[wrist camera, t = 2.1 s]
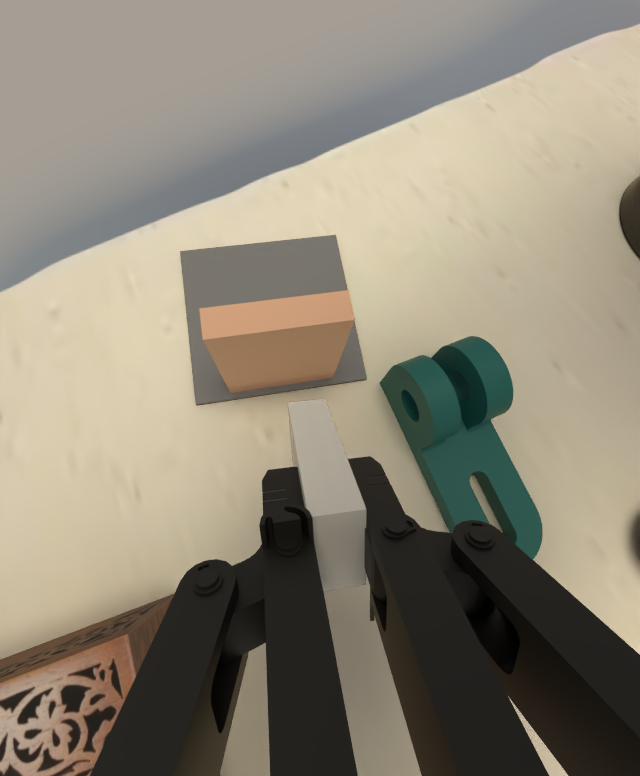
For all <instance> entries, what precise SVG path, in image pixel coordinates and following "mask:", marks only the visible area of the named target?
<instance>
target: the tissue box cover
mask: <svg viewBox="0 0 640 776" xmlns="http://www.w3.org/2000/svg"><path fill="white" fill-rule="evenodd" d="M173 596H174V594H173V595H170V596H168V597H165V598H162V599H160V600H157V601H154V602H152V603H149V604H147V605H144V606H141V607H139V608H136V609H133V610H131V611H128V612H125V613H123V614H120V615H118V616H115V617H112V618H110V619H107V620H104V621H102V622H99V623H96V624H94V625H91V626H89V627H86V628H83V629H81V630H78V631H75V632H73V633H70V634H67V635H65V636H62V637H60V638H57V639H54V640H52V641H49V642H46V643H44V644H41V645H38V646H36V647H33V648H30V649H28V650H25V651H23V652H20V653H17V654H15V655H12V656H9V657H7V658H4V659H1V660H0V776H90V774H91V772H92V769H93V767H94V765H95V763H96V761H97V759H98V757H99V754H100V752H101V750H102V748H103V746H104V744H105V742H106V739H107V737H108V735H109V733H110V731H111V729H112V727H113V724H114V722H115V720H116V718H117V716H118V714H119V712H120V710H121V707H122V705H123V703H124V701H125V699H126V697H127V695H128V692H129V690H130V688H131V686H132V684H133V682H134V680H135V677H136V675H137V673H138V671H139V669H140V667H141V665H142V662H143V660H144V658H145V656H146V654H147V652H148V650H149V647H150V645H151V643H152V641H153V639H154V637H155V635H156V633H157V630H158V628H159V626H160V624H161V622H162V620H163V618H164V615H165V613H166V611H167V609H168V607H169V605H170V603H171V600H172V598H173ZM219 776H220V774H219Z"/></svg>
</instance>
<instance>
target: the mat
mask: <svg viewBox="0 0 640 776" xmlns="http://www.w3.org/2000/svg"><path fill="white" fill-rule="evenodd" d="M180 254H181V264H182V274H183V283H184V293H185V303H186V313H187V323H188V333H189V342H190V352H191V362H192V372H193V382H194V391H195V401H196V405H203V404H209V403H216V402H223V401H229V400H236V399H242V398H249V397H256V396H262V395H269V394H276V393H282V392H289V391H295V390H302V389H309V388H315V387H322V386H328V385H335V384H342V383H348V382H355V381H361V380H366V379H367V377H366V373H365V368H364V363H363V359H362V354H361V350H360V345H359V340H358V336H357V331H356V327H355V322H354V323H353V326H352V328H351V331H350V334H349V336H348V339H347V342H346V344H345V347H344V350H343V352H342V355H341V358H340V361H339V363H338V366H337V369H336V371H335V374H334V377H333V378H330V379H324V380H317V381H310V382H304V383H297V384H290V385H284V386H277V387H270V388H263V389H257V390H250V391H243V392H237V393H230V391H229V389H228V387H227V385H226V383H225V381H224V380H223V378H222V376H221V374H220V372H219V370H218V368H217V366H216V364H215V362H214V360H213V358H212V357H211V355H210V353H209V351H208V349H207V347H206V345H205V343H204V341H203V338H202V329H201V320H200V311H199V308H207V307H215V306H223V305H232V304H240V303H248V302H256V301H264V300H272V299H280V298H289V297H297V296H305V295H313V294H321V293H329V292H337V291H346V290H347V285H346V280H345V276H344V271H343V267H342V262H341V257H340V253H339V248H338V244H337V239H336V235H331V236H321V237H312V238H302V239H293V240H283V241H273V242H264V243H254V244H245V245H235V246H226V247H216V248H207V249H197V250H188V251H180Z"/></svg>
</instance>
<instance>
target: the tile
mask: <svg viewBox="0 0 640 776" xmlns="http://www.w3.org/2000/svg"><path fill="white" fill-rule="evenodd" d="M199 311H200V320H201V329H202V338H203V341H204V343H205V345H206V347H207V349H208V351H209V353H210V355H211V357H212V358H213V360H214V362H215V364H216V366H217V368H218V370H219V372H220V374H221V376H222V378H223V380H224V381H225V383H226V385H227V387H228V389H229V391H230V393H237V392H243V391H250V390H257V389H263V388H270V387H277V386H284V385H290V384H297V383H304V382H310V381H317V380H324V379H330V378H333V377H334V374H335V371H336V369H337V366H338V363H339V361H340V358H341V355H342V352H343V350H344V347H345V344H346V342H347V339H348V336H349V334H350V331H351V328H352V326H353V323H354V320H355V319H354V314H353V310H352V305H351V300H350V296H349V291H348V290H346V291H337V292H329V293H321V294H313V295H305V296H297V297H289V298H280V299H272V300H264V301H256V302H248V303H240V304H232V305H223V306H215V307H207V308H199Z"/></svg>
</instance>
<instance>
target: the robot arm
mask: <svg viewBox="0 0 640 776" xmlns="http://www.w3.org/2000/svg"><path fill="white" fill-rule="evenodd" d="M620 214H621V222H622V226H623V229H624V232H625V234H626V237H627V239H628V241H629V242H630V244H631V246H632V247H633V249H634V250H635V251H636V253H637V254H638V255H639V256H640V176H639V177H638V178H637V179H636V180H634V181H633V182H632V183H631V184H630V185H629V187H628V188H627V189H626V191H625V193H624V195H623V198H622V202H621V209H620ZM288 411H289V423H290V434H291V446H292V458H293V465H294V467H289V468H281V469H273V470H268V471H267V473H266V474H265V476H264V478H263V480H262V491H263V516H262V517H261V521H260V532H261V540H262V545H261V547H260V548H259V550H258V551H257V552H256V553H255V554H254V555H253V556H251V557H250V558H248V559H246V560H245V561H243V562H241V563H238V564H236V565H234V566H231V565H230V564H229V563H227V562H226V561H222V560H217V559H215V560H207V561H204V562H202V563H199V564H197V565H195V566H194V567H192V568H191V569H190V570H189V571H187V572H186V574H185V575H184V577H183V578H182V580H181V581H180V583H179V585H178V588H177V590H176V592H175V594H174V596H173V598H172V600H171V603H170V605H169V607H168V609H167V611H166V613H165V615H164V618H163V620H162V622H161V624H160V626H159V628H158V630H157V633H156V635H155V637H154V639H153V641H152V643H151V645H150V647H149V650H148V652H147V654H146V656H145V658H144V660H143V662H142V665H141V667H140V669H139V671H138V673H137V675H136V677H135V680H134V682H133V684H132V686H131V688H130V690H129V692H128V695H127V697H126V699H125V701H124V703H123V705H122V707H121V710H120V712H119V714H118V716H117V718H116V720H115V722H114V724H113V727H112V729H111V731H110V733H109V735H108V737H107V739H106V742H105V744H104V746H103V748H102V750H101V752H100V754H99V757H98V759H97V761H96V763H95V765H94V767H93V769H92V772H91V774H90V776H219V773H220V769H221V765H222V761H223V756H224V752H225V748H226V744H227V740H228V736H229V732H230V728H231V723H232V719H233V715H234V711H235V707H236V703H237V699H238V695H239V691H240V686H241V682H242V678H243V674H244V670H245V666H246V662H247V658H248V652H249V651H251V650H252V649H254V648H256V647H258V646H260V645H262V644H264V643H266V658H267V688H268V718H269V748H270V776H358V775H357V769H356V764H355V759H354V753H353V748H352V743H351V737H350V732H349V727H348V721H347V716H346V711H345V705H344V700H343V694H342V689H341V684H340V678H339V673H338V668H337V662H336V657H335V652H334V646H333V641H332V635H331V630H330V625H329V619H328V614H327V609H326V603H325V598H324V593H323V591H328V590H334V589H340V588H347V587H353V586H359V585H365V584H366V574H367V577H368V581H369V584H370V621H373V620H374V615H375V618H376V622H377V625H378V628H379V632H380V635H381V639H382V642H383V645H384V649H385V652H386V656H387V659H388V662H389V666H390V669H391V673H392V676H393V679H394V683H395V686H396V690H397V693H398V696H399V700H400V703H401V706H402V710H403V713H404V717H405V720H406V723H407V727H408V730H409V734H410V737H411V740H412V744H413V747H414V751H415V754H416V757H417V761H418V764H419V768H420V771H421V774H422V776H549V775H548V773H547V771H546V769H545V767H544V765H543V763H542V761H541V759H540V757H539V755H538V753H537V752H536V750H535V748H534V746H533V744H532V742H531V740H530V738H529V736H528V734H527V732H526V730H525V728H524V726H523V725H522V723H521V721H520V719H519V717H518V715H517V713H516V711H515V709H514V707H513V705H512V703H511V701H510V699H511V700H512V702H513V703H514V704H515V706H516V707H517V708H518V709H519V711H520V712H521V713H522V715H523V716H524V717H525V719H526V720H527V721H528V723H529V724H530V725H531V727H532V728H533V729H534V731H535V732H536V733H537V735H538V736H539V737H540V738H541V740H542V741H543V742H544V744H545V745H546V746H547V748H548V749H549V750H550V752H551V753H552V754H553V756H554V757H555V758H556V760H557V761H558V762H559V763H560V765H561V766H562V767H563V769H564V770H565V771H566V773H567V774H568V775H569V776H640V655H639V654H638V653H637V652H636V651H635V650H634V649H633V648H631V647H630V646H629V645H628V644H627V643H626V642H625V641H624V640H622V639H621V638H620V637H619V636H618V635H617V634H616V633H614V632H613V631H612V630H611V629H610V628H609V627H608V626H607V625H605V624H604V623H603V622H602V621H601V620H600V619H599V618H598V617H596V616H595V615H594V614H593V613H592V612H591V611H590V610H589V609H587V608H586V607H585V606H584V605H583V604H582V603H581V602H580V601H578V600H577V599H576V598H575V597H574V596H573V595H572V594H571V593H569V592H568V591H567V590H566V589H565V588H564V587H563V586H562V585H560V584H559V583H558V582H557V581H556V580H555V579H554V578H553V577H551V576H550V575H549V574H548V573H547V572H546V571H545V570H544V569H542V568H541V567H540V566H539V565H538V564H537V563H536V562H535V561H533V560H532V559H531V558H530V557H529V556H528V555H527V554H526V553H524V552H523V551H522V550H521V549H520V548H519V547H518V546H517V545H515V544H514V543H513V542H512V541H511V540H510V539H509V538H508V537H506V536H505V535H504V534H503V533H502V532H501V531H500V530H498V529H497V528H495V527H494V526H492V525H490V524H488V523H485V522H482V521H476V520H468V521H463V522H461V523H459V524H457V525H456V526H455V528H454V530H453V532H452V533H445V532H436V531H431V530H426V529H424V528H421V527H420V526H419V525H418V523H417V522H416V521H415V520H414V519H412V518H411V517H409V516H407V515H406V514H405V513H404V511H403V509H402V507H401V505H400V503H399V501H398V499H397V497H396V495H395V492H394V490H393V488H392V486H391V484H390V483H389V480H388V478H387V476H386V475H385V472H384V470H383V468H382V466H381V464H380V463H378V462H377V461H376V460H374V459H373V458H372V457H371V456H369V457H361V458H353V459H347V456H346V454H345V451H344V448H343V446H342V443H341V440H340V438H339V435H338V432H337V430H336V427H335V424H334V422H333V419H332V416H331V414H330V411H329V408H328V406H327V403H326V400H325V399H316V400H307V401H297V402H288ZM507 695H508V696H509V697H508V696H507ZM509 698H510V699H509Z"/></svg>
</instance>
